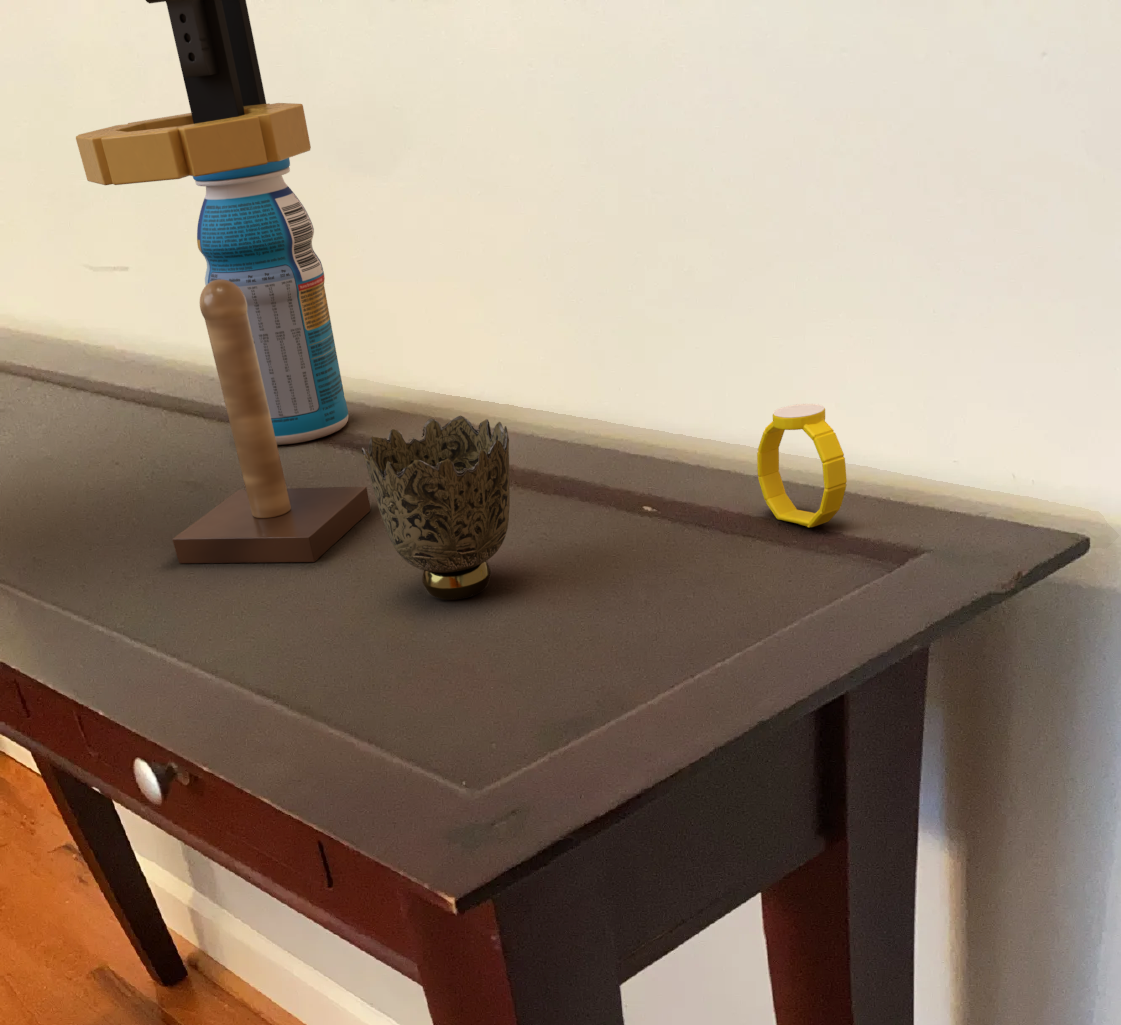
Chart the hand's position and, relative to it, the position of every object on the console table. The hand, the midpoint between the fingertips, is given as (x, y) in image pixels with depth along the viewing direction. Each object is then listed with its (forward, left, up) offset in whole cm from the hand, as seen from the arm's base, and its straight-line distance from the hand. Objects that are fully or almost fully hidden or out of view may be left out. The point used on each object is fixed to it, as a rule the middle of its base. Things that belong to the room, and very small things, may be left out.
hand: (237, 145), depth 74 cm
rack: (-1, -3, -20) cm, 21 cm away
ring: (0, -4, 0) cm, 5 cm away
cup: (+14, -12, -20) cm, 27 cm away
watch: (+31, -2, -20) cm, 37 cm away
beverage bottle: (-10, +20, -20) cm, 31 cm away
